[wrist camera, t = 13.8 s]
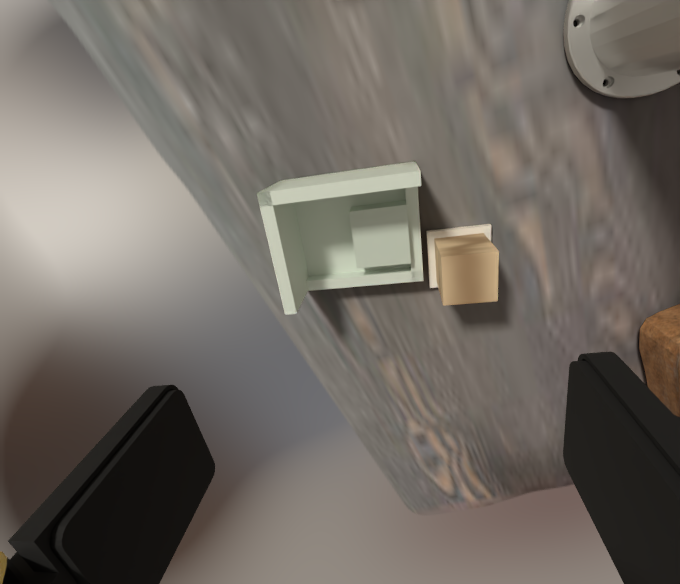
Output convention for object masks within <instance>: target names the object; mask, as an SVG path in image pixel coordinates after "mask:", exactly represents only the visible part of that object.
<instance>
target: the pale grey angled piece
mask: <svg viewBox="0 0 680 584" xmlns="http://www.w3.org/2000/svg"><path fill="white" fill-rule="evenodd" d="M418 186H421V171H420V169H419V167H418V166H417V164H416V162H415V161H413V162H406V163H399V164H392V165H385V166H378V167H371V168H364V169H357V170H350V171H343V172H336V173H329V174H322V175H315V176H308V177H301V178H294V179H287V180H281V181H279V182H277V183H275V184H273V185H272V186H270V187H268V188H266V189H264V190H262V191H260V192H258V193H257V197H258V201H259V205H260V209H261V214H262V218H263V222H264V226H265V231H266V235H267V239H268V243H269V248H270V252H271V256H272V261H273V265H274V269H275V273H276V278H277V282H278V286H279V290H280V295H281V299H282V303H283V307H284V312H285V315H286V314H297V312H298V310H299V308H300V306H301V304H302V302H303V300H304V298H305V296H306V294H307V292H308V291H312V290H324V289H335V288H347V287H359V286H370V285H382V284H394V283H405V282H417V281H423V264H422V248H421V232H420V215H419V199H418Z"/></svg>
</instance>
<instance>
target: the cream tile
mask: <svg viewBox="0 0 680 584" xmlns="http://www.w3.org/2000/svg"><path fill="white" fill-rule="evenodd" d="M479 233H484V234H485V235H486V237H487V238H488V239H489V240H490V241H491V224H484V225H475V226H466V227H457V228H448V229H438V230H429V231H426V234H427V252H428V271H429V287H430V288H436V287H438V285H437V280H436V261H435V243H434V238H443V237H452V236H461V235H470V234H479Z"/></svg>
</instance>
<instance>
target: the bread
mask: <svg viewBox="0 0 680 584" xmlns="http://www.w3.org/2000/svg"><path fill="white" fill-rule="evenodd" d="M639 349H640V353H641V357H642V361H643V365H644V369H645V373H646V379H647V384H648V388H649V389H650V390H651V391H652V392H653V393H654V394H655V395H656V396H657V397H658V398H659V400H660V401H661V402H662V403H663V404H664V405H665V406H666V407H667V408H668V409H669V410H670V411H671V412H672V413H673V414H674V415H676V416H679V417H680V304H679V305H676V306H673V307H671V308H668V309H665V310H663V311H660V312H658V313H656V314H654V315H653V316H651V317H649V318H646V320H645V322H644V323H643V325H642V326H641V328H640V341H639Z"/></svg>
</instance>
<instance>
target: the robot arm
mask: <svg viewBox="0 0 680 584" xmlns="http://www.w3.org/2000/svg"><path fill="white" fill-rule="evenodd" d="M574 20H576V21H577V26H576V27H574V25H573V21H574ZM563 34H564V48H565V52H566V56H567V60H568V62H569V64H570V66H571V68H572V70H573V72H574V74H575V75H576V76H577V78H578V79H579V80H580V81H581V82H582V83H583V84H584V85H585V86H587V87H588V88H589V89H591V90H592V91H594V92H596V93H599V94H601V95H604V96H607V97H614V98H636V97H642V96H648V95H652V94H655V93H658V92H661V91H664V90H666V89H668V88H670V87H672V86H674V85H676V84H678V83H680V0H569V2H568V6H567V9H566V13H565V21H564V29H563ZM677 70H678V73H677ZM604 80H605V81H606V84H605V85H604V86H603V81H604ZM563 456H564V461H565V465H566V468H567V470H568V472H569V474H570V476H571V478H572V480H573V482H574V484H575V486H576V488H577V490H578V492H579V494H580V496H581V498H582V500H583V502H584V504H585V506H586V508H587V510H588V512H589V514H590V516H591V518H592V520H593V522H594V524H595V526H596V528H597V530H598V532H599V534H600V536H601V538H602V540H603V542H604V544H605V546H606V548H607V550H608V552H609V554H610V556H611V558H612V560H613V562H614V564H615V566H616V568H617V570H618V572H619V575H620V576H621V578H622V581H623V582H624V584H680V417H679V416H676V415H674V414H673V413H672V412H671V411H670V410H669V409H668V408H667V407H666V406H665V405H664V404H663V403H662V402H661V401H660V400H659V398H658V397H657V396H656V395H655V394H654V393H653V392H652V391H651V390H650V389H649V388H648V387H647V386H646V385H645V384H644V383H643V382H642V381H641V380H640V379H639V378H638V377H637V375H636V374H635V373H634V372H633V371H632V370H631V369H630V368H629V367H628V366H627V365H626V364H625V363H624V362H623V361H622V360H621V359H620V358H619V357H618V356H617V355H616V354H615V353H613V352H600V353H587V354H581V355H580V356H579V357H578V361H573V362H571V363H570V367H569V380H568V393H567V407H566V421H565V434H564V448H563ZM214 472H215V463H214V461H213V458H212V456H211V454H210V451H209V449H208V447H207V445H206V443H205V440H204V438H203V436H202V434H201V431H200V429H199V427H198V425H197V423H196V420H195V418H194V416H193V413H192V411H191V409H190V407H189V405H188V403H187V400H186V398H185V396H184V394H183V392H182V391H181V390H178V388H177V387H176V386H174V385H163V386H153V387H150V388H148V389H147V390H146V391H145V392H144V393H143V395H142V396H141V397H140V398H139V399H138V400H137V401H136V402H135V403H134V404H133V405H132V406H131V408H130V409H129V410H128V411H127V412H126V413H125V414H124V415H123V416H122V417H121V418H120V420H119V421H118V422H117V423H116V424H115V425H114V426H113V427H112V428H111V430H110V431H109V432H108V433H107V434H106V435H105V436H104V437H103V438H102V439H101V440H100V441H99V442H98V444H97V445H96V446H95V447H94V448H93V449H92V450H91V451H90V452H89V453H88V455H87V456H86V457H85V458H84V459H83V460H82V461H81V462H80V463H79V464H78V465H77V466H76V468H75V469H74V470H73V471H72V472H71V473H70V474H69V475H68V476H67V477H66V479H65V480H64V481H63V482H62V483H61V484H60V485H59V486H58V487H57V488H56V489H55V490H54V492H53V493H52V494H51V495H50V496H49V497H48V498H47V499H46V500H45V501H44V502H43V503H42V505H41V506H40V507H39V508H38V509H37V510H36V511H35V512H34V513H33V514H32V515H31V517H30V518H29V519H28V520H27V521H26V522H25V523H24V524H23V525H22V526H21V528H20V529H19V530H18V531H17V532H16V533H15V534H14V535H13V536H12V537H11V538H10V540H9V541H8V542H9V543H10V544H11V545H12V546H13V548H14V549H15V550H16V551H17V552H16V553H15V555H14V556H13V557H12V558H11V559H10V560H9V559H8V557H7V556H6V555H5V554H4V553H3V552H0V584H159V583H160V581H161V579H162V577H163V575H164V573H165V571H166V569H167V567H168V565H169V563H170V561H171V559H172V557H173V555H174V553H175V551H176V549H177V547H178V545H179V543H180V541H181V540H182V538H183V536H184V533H185V532H186V529H187V528H188V526H189V524H190V522H191V520H192V518H193V516H194V513H195V512H196V510H197V508H198V506H199V504H200V502H201V499H202V498H203V496H204V494H205V492H206V490H207V488H208V486H209V484H210V482H211V480H212V478H213V476H214Z"/></svg>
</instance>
